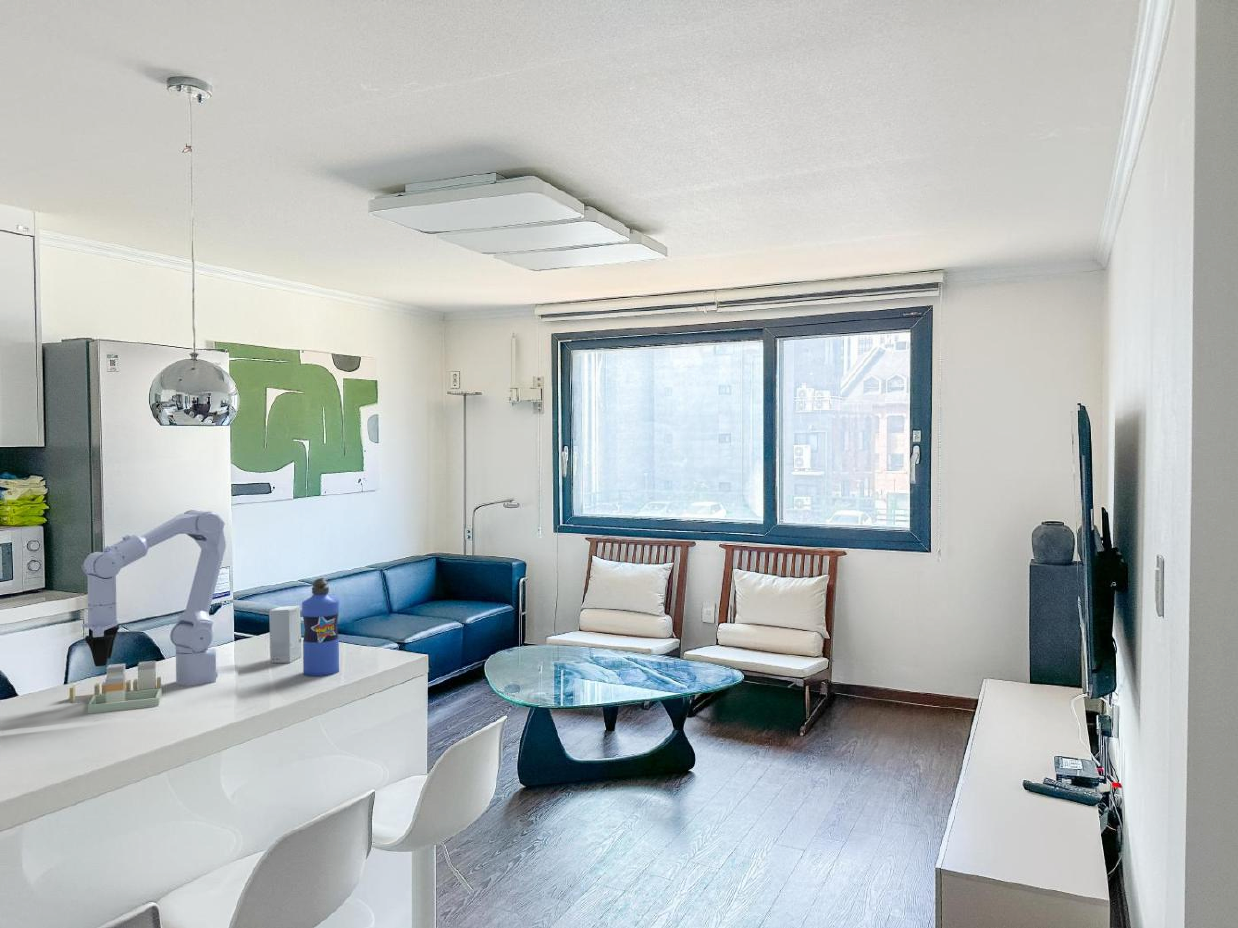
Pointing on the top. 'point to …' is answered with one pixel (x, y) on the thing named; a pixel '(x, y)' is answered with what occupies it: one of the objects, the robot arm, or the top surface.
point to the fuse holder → (97, 691)
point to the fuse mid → (116, 670)
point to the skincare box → (285, 634)
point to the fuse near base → (147, 675)
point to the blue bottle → (320, 632)
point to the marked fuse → (115, 688)
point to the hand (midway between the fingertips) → (103, 662)
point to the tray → (126, 704)
